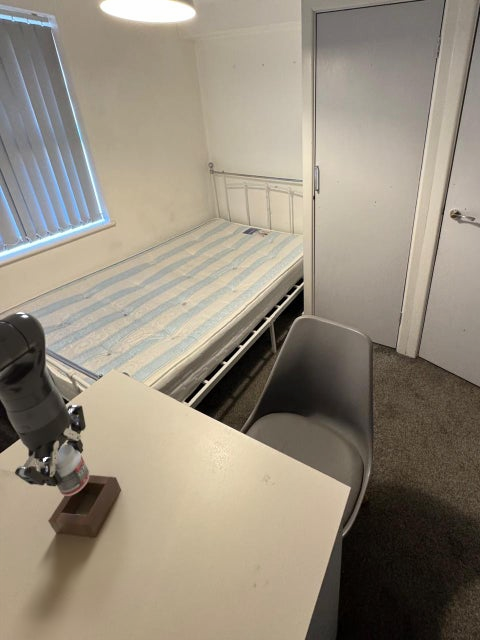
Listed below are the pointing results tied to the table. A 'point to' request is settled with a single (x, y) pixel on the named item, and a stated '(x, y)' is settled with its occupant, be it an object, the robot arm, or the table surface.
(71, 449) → the pill bottle
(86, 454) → the table surface
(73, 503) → the holder
